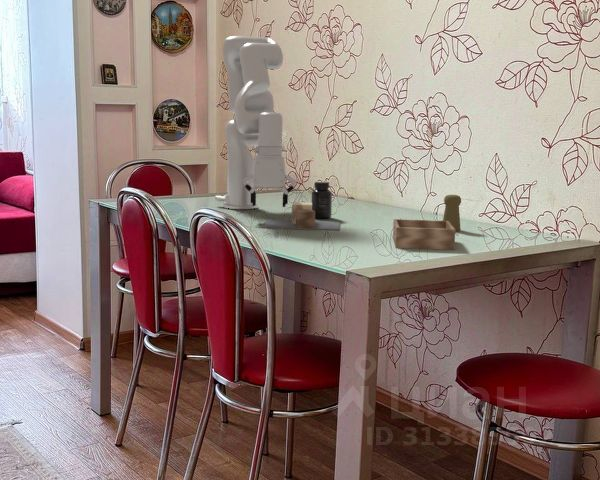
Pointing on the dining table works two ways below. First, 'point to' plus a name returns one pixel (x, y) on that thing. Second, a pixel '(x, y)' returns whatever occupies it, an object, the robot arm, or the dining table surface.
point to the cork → (452, 211)
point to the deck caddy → (423, 234)
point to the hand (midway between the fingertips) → (269, 205)
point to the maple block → (299, 207)
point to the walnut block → (305, 218)
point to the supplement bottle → (322, 200)
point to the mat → (289, 225)
